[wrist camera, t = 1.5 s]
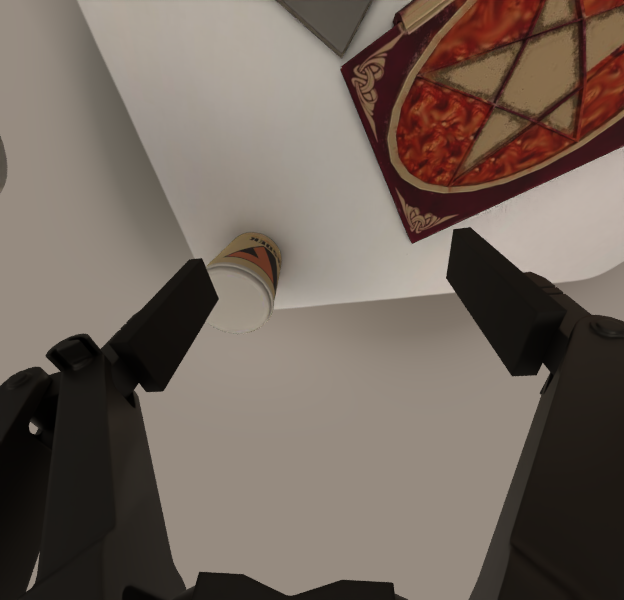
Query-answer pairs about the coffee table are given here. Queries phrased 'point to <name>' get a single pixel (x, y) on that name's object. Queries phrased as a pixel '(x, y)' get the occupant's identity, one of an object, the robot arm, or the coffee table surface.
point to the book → (488, 100)
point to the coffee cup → (244, 283)
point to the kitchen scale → (330, 19)
